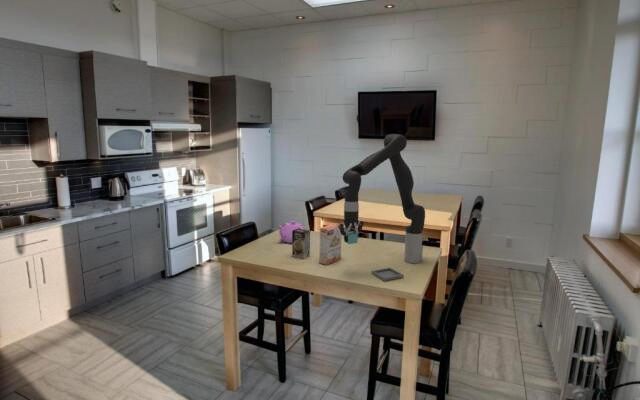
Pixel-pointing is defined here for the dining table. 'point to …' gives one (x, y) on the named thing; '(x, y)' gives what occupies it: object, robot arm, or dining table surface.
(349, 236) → the teal cube
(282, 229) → the teapot
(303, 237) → the coffee box
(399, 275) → the tray
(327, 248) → the cracker box
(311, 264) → the dining table surface
